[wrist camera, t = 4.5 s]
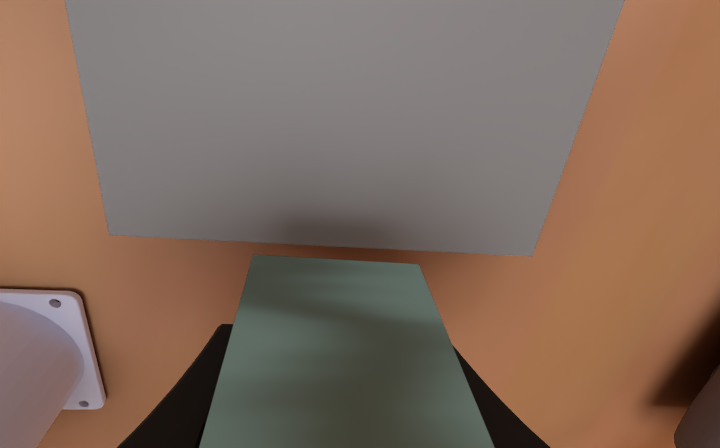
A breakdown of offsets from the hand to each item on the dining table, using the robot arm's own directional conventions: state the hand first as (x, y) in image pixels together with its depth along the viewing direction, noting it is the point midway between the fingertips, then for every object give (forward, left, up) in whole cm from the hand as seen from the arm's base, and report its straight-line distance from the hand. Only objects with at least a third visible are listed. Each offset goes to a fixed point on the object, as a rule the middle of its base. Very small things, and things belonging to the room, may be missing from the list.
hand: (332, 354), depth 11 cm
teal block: (0, 0, -2) cm, 2 cm away
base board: (0, +7, -9) cm, 11 cm away
